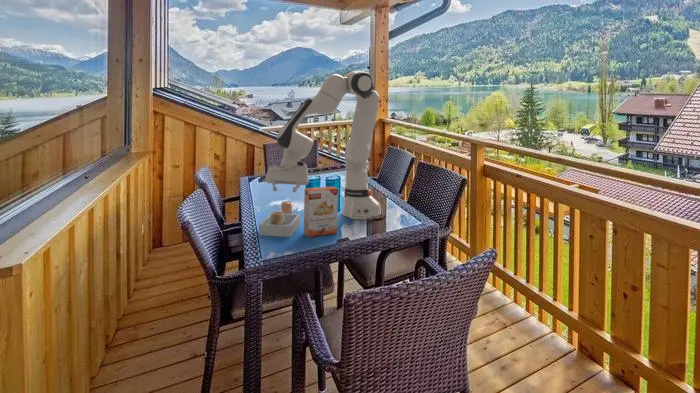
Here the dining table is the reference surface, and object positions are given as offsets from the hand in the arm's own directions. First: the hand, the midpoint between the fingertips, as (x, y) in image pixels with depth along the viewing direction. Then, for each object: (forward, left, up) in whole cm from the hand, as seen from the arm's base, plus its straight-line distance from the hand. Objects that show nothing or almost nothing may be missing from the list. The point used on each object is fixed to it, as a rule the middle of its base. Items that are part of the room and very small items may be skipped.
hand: (284, 191), depth 186 cm
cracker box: (-19, +8, -17) cm, 27 cm away
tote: (0, +6, -17) cm, 18 cm away
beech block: (0, +10, -16) cm, 19 cm away
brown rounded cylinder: (+1, -8, -17) cm, 18 cm away
